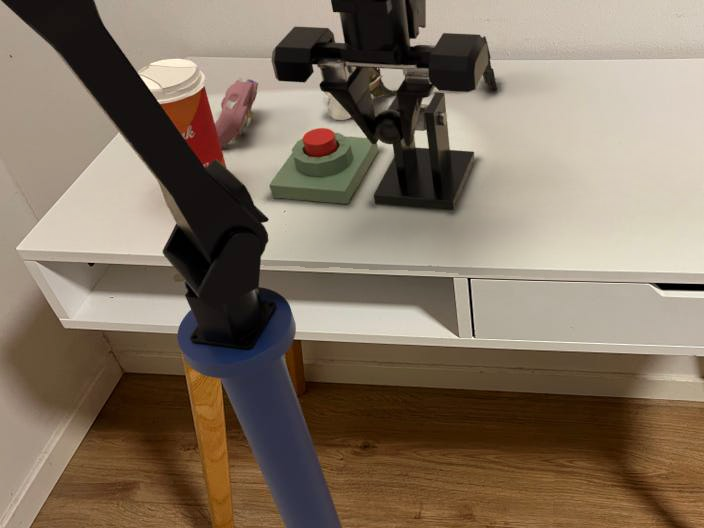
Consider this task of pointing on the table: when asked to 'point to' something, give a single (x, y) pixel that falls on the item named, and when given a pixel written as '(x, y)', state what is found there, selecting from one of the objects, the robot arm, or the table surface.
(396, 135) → the lever
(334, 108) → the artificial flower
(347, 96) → the robot arm
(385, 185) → the bracket
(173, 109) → the paper cup
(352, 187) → the control block
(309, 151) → the button
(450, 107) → the table surface
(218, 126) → the pink toy car
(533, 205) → the table surface
